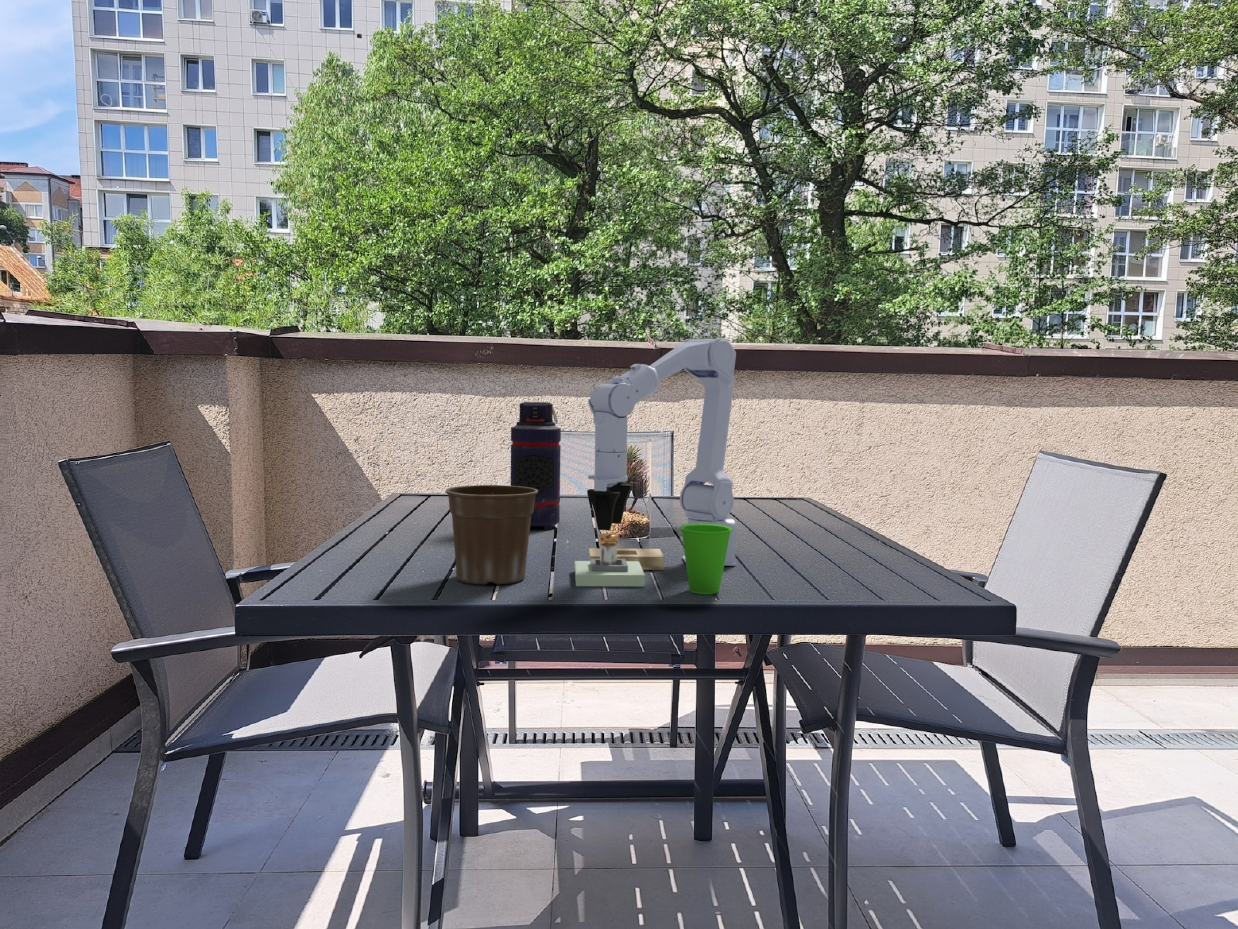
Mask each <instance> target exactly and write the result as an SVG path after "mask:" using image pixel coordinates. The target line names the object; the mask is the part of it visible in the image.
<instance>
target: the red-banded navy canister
mask: <svg viewBox="0 0 1238 929" xmlns="http://www.w3.org/2000/svg"><path fill="white" fill-rule="evenodd" d="M553 419H554V420H553ZM556 425H558V417H557V414H556V411H555V409H554V406H553V403H552V402H540V401H523V402H521V403H519V419H518V421H517V422H516V424H515V425H514V426H511V428H510V442H511V444H510V486H521V487H529V488H534V489H537V490H538V493H537V494H536V495H535V501H534V510H533V513H532V514H531V522H530V527H544V530H545V531H549V530H548V529H550V530H553V528H554V527H553V526H556V525H558V524H559V523H560V520H561V519H560V518H561V517H560V516H561V515H560V512H561V508H560V507H561V505H560V503H559V502H560V501H561V449H562V448H561V445H560V442H561V439H562V438H561V436H562V429H561V427H558V426H556Z"/></svg>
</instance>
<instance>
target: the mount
mask: <svg viewBox="0 0 1238 929" xmlns="http://www.w3.org/2000/svg"><path fill="white" fill-rule="evenodd" d="M590 559H600V547H599V548H597V547H596V548H594V547H593V548H592V547H591V548H588V561H590ZM617 559H625V560H626V561H639V563H640V565H641V567H642V569H643V571H644V570H648V571H649V570H651V571H656V570H658V571H659V570H660V571H661V570H664V569H665V555H664V554H663V552H662V551H661V549H660V548H617Z"/></svg>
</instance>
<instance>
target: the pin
mask: <svg viewBox="0 0 1238 929" xmlns="http://www.w3.org/2000/svg"><path fill="white" fill-rule="evenodd" d="M598 536H599V538H598V543H599V548H600V565H616V563H617V549H618V544H619V535H618V534H617V533H612V532H611V533H610V532H605V533H604V532H603V533H600V534H598Z"/></svg>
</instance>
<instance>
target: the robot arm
mask: <svg viewBox="0 0 1238 929" xmlns="http://www.w3.org/2000/svg"><path fill="white" fill-rule="evenodd" d="M736 358H737V352H736V350H735V348H734V347H733V345H732V344H731V342H730V341H729V340H728V339H726V338H724V337H718V338H703V339H701V338H700V339H699V338H698V339H695V338H687V339H684V340H683V341H682V342H678V343H676V345H675V347H674V348H673V349H672V350H670V351H668V352H667V353H666V354H664V355H662V356H661V357H660V358H659V359H657V360H656V361H655V362H653V363H651V364H650V365H648V364H644V363H643V364H642V363H634V364H632V365H630V367H629V368H630V370H628V371H627V372H625V373H623V374H621V375H616V376H613V377H612V381H610V383H601V384H598V385H597V386H596V387H594V389H593V390H592V392H591V395H590V397H589V399H588V400H587V401H588V407H589V409H590V411H591V413H592V415H593V418H592V419H593V421H592V422H594V427H595V428H594V473H593V474H588V476H587V479H588V480H593V481H594V482H593V483H594V486H593V487H594V488H589V489H587V491H586V494H587V497H588V499H589V500H590V502H591V506H592V508H593V512H594V516H595V522H596V526H597V530H598V531H611V528H612V524H614V525H615V524H617V525H618V524H619V525H620V524H621V523H622V520H623V516H624V511H625V507H626V503H627V500H628V497H629V495H630V493H631V491H632V488H633V484H631V483H626V482H627V481H628V480H629V479H628V475H627V472H628V470H627V469H628V468H627V467H628V466H627V465H628V463H627V462H628V416H631V414H632V413H633V411H634V409H635V407H636V405H637V404H638V403H640V402H642V401H643V400H644V399H646V398H647V397H649V396H651V395H652V394H654V393H655V392H657V390H658V389H659V385H660V382H661V381H663V380H665V379H667V378H669V377H670V376H672V375H675V374H676V373H678V372H679V371H682V370H683V369H684V371H686V372H687V373H688V374H690V375H691V376H692V378H694V379H695V380H697V381H698V382H700V383H701V385H702V386H703V389H704V397H703V398H704V399H703V407H702V413H701V423H700V429H699V430H700V431H699V438H698V444H697V445H698V446H697V452H696V453H697V454H696V461H695V467H694V468H693V470H691V471H689V473H687V475H686V476H685V481H684V485H683V487H682V489H681V491H680V494H679V505H680V507H681V509H682V510H683V512H685V513H684V514H685V515H684V516H685V517H687V524H699V523H701V524H718V525H725V526H729V527H731V528H732V530H733V531H731V532H730V537H729V542H728V548H727V553H726V558H725V564H724V567H725V566H730V567H734V566H736V543H737V542H736V541H737V530H736V529H737V528H736V522H735V520H734V519H733V518H728V517H729V515H730V513H732V511H733V508H734V505H735V504H734V503H735V502H734V499H735V498H734V494H733V486H734V485H733V483H734V482H733V481H732V479H731V478H730V476H728V475H727V474H726V472H725V471H724V465H725V461H726V460H725V459H726V451H727V443H728V436H729V435H728V434H729V425H730V420H731V418H730V417H731V411H732V410H731V409H732V403H733V402H732V401H733V395H734V394H733V393H734V388H735V387H734V386H735V385H734V384H735V378H734V376H735V375H734V374H735V365H736ZM705 483H710V484H711V485H710V484H705ZM682 560H683V561H684V562H685V563H686V560H685V555H682Z"/></svg>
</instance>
